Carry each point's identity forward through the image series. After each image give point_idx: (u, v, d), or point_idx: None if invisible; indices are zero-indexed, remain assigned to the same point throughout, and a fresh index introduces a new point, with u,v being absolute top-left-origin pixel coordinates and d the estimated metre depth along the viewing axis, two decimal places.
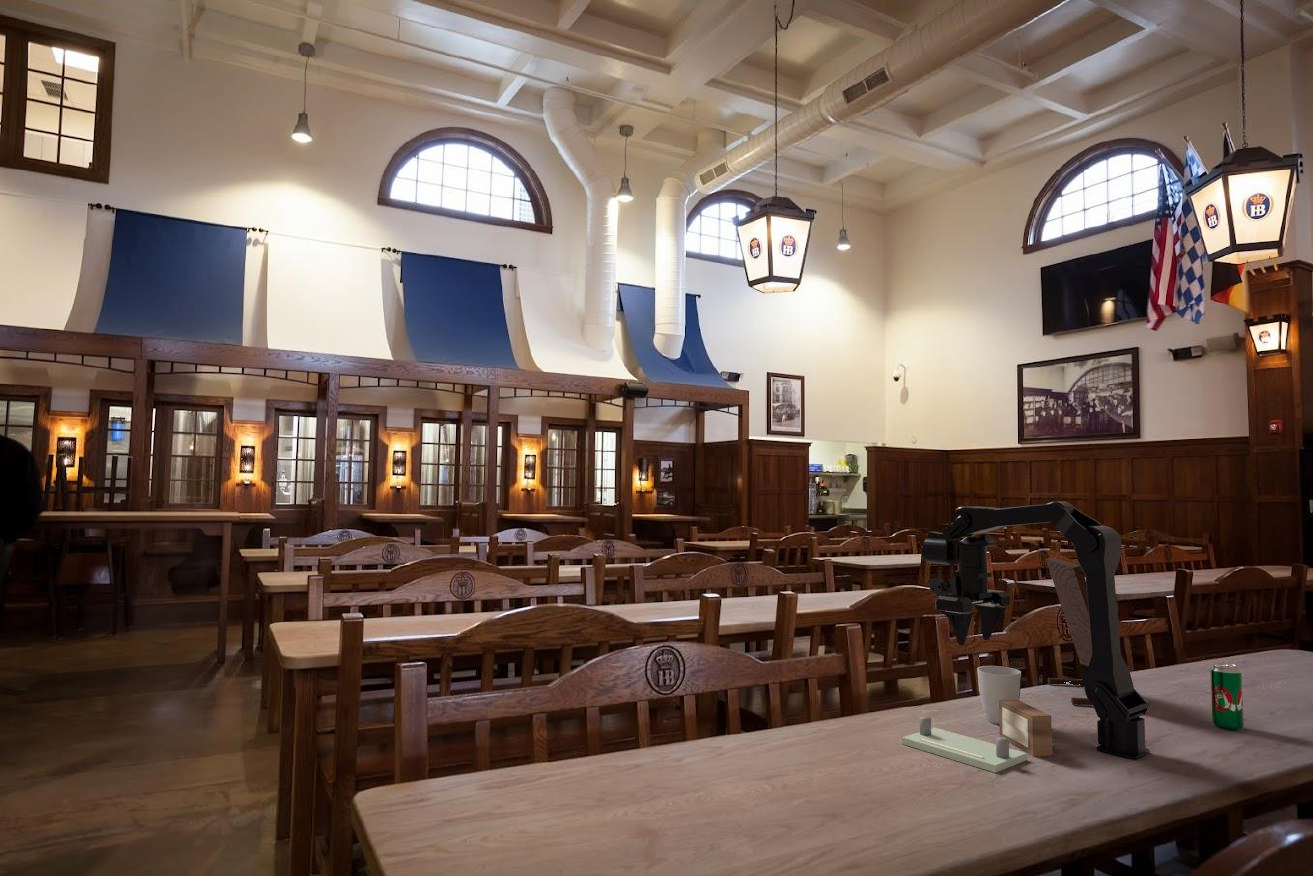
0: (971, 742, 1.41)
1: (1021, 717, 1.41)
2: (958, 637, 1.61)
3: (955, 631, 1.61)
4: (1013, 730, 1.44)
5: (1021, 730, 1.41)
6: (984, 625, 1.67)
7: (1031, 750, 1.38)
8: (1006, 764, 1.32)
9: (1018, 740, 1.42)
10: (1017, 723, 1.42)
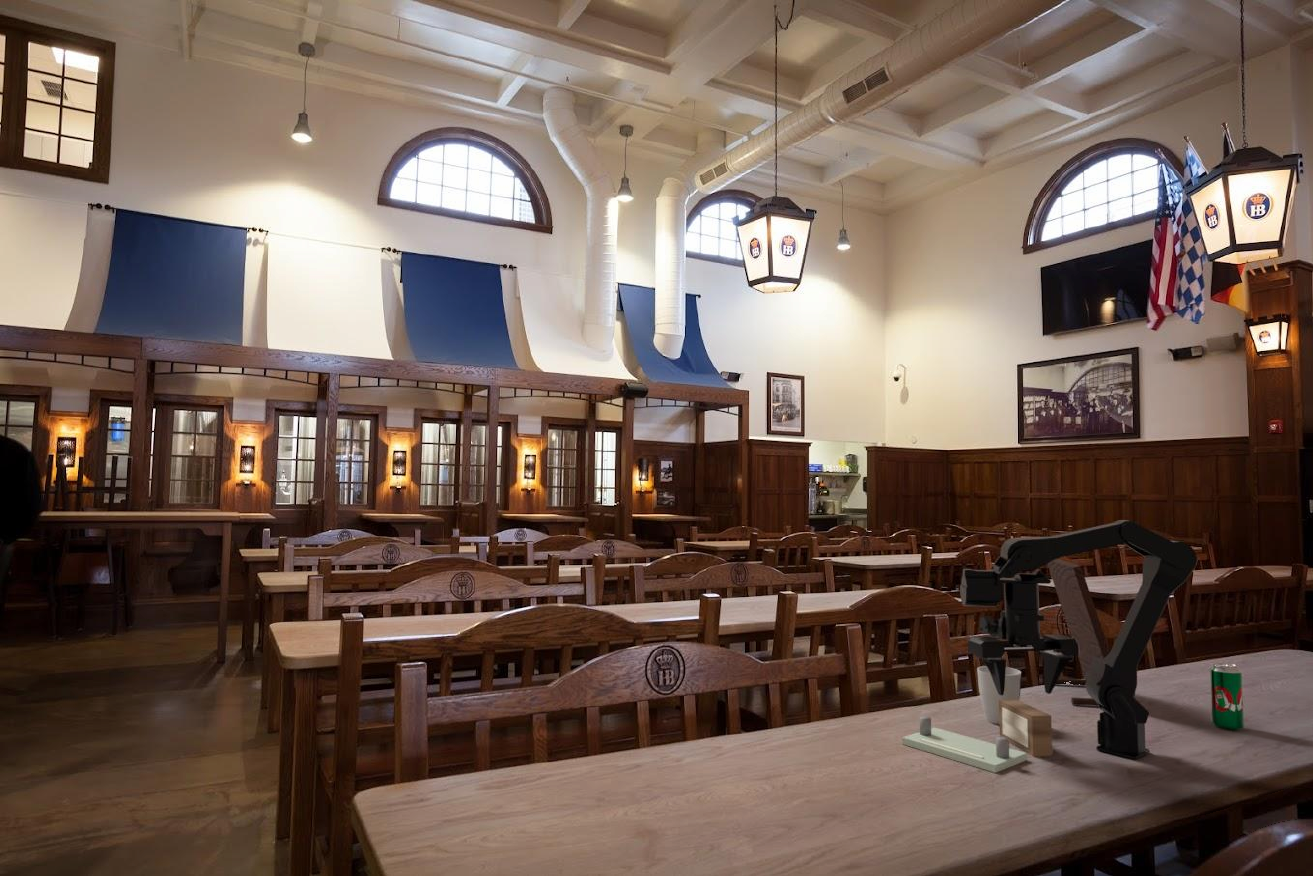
0: (971, 742, 1.41)
1: (1021, 717, 1.41)
2: (996, 685, 1.43)
3: (993, 678, 1.44)
4: (1013, 730, 1.44)
5: (1021, 730, 1.41)
6: (1046, 676, 1.45)
7: (1031, 750, 1.38)
8: (1006, 764, 1.32)
9: (1018, 740, 1.42)
10: (1017, 723, 1.42)
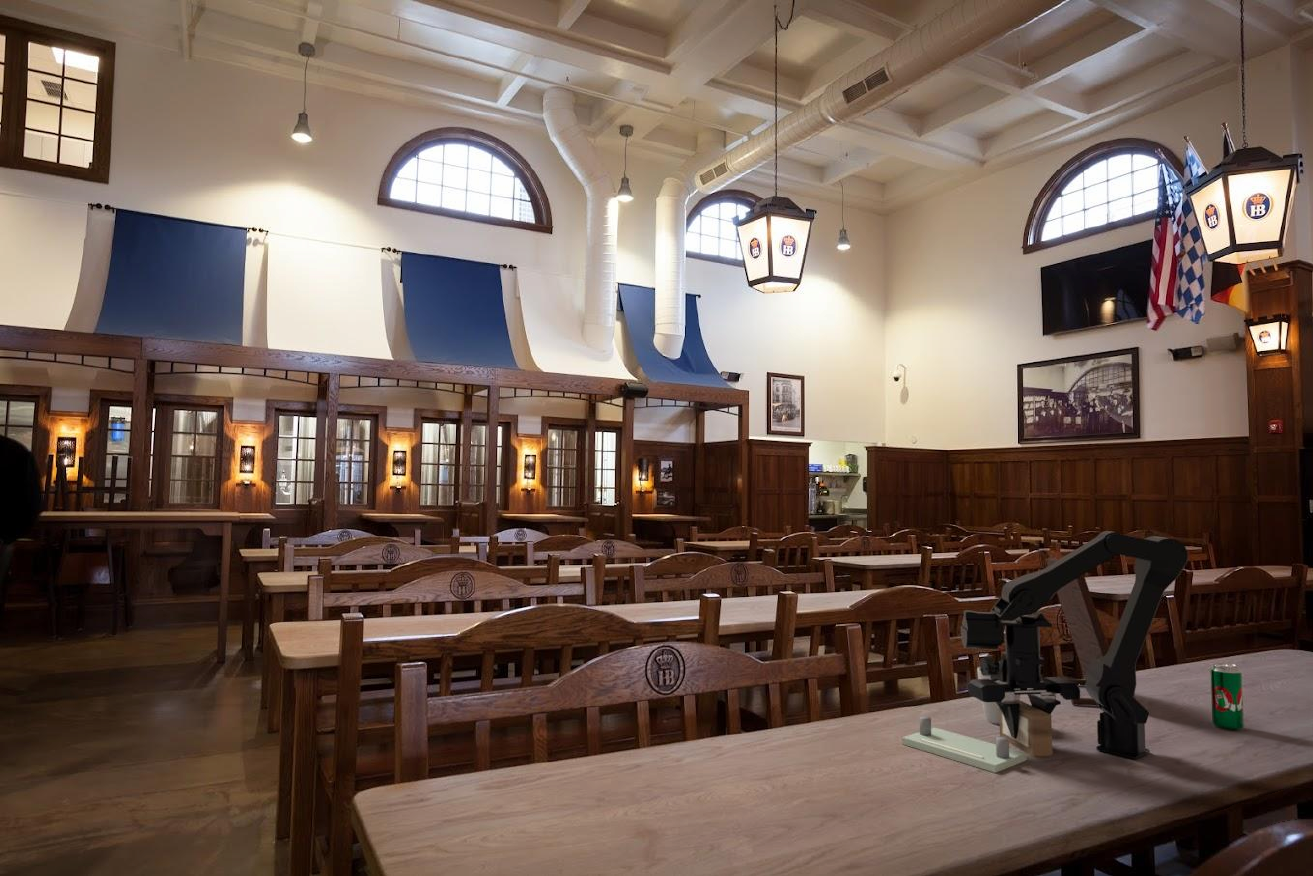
0: (971, 742, 1.41)
1: (1021, 716, 1.41)
2: (1009, 728, 1.43)
3: (1006, 721, 1.44)
4: None
5: (1021, 729, 1.41)
6: None
7: (1031, 750, 1.38)
8: (1006, 764, 1.32)
9: (1018, 740, 1.42)
10: None
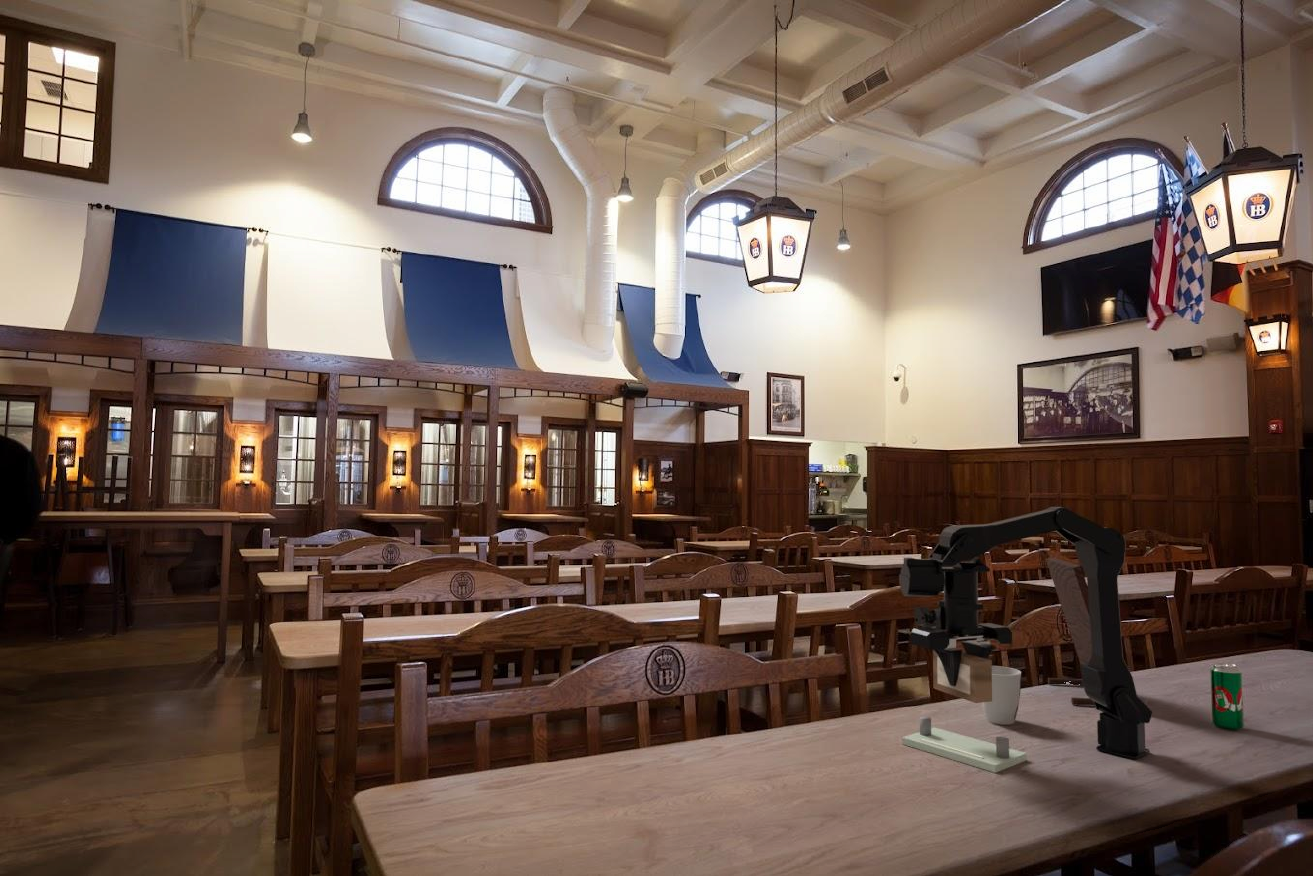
0: (971, 742, 1.41)
1: (961, 664, 1.38)
2: (948, 676, 1.40)
3: (945, 669, 1.40)
4: None
5: (961, 677, 1.38)
6: None
7: (973, 697, 1.36)
8: (1006, 764, 1.32)
9: (957, 688, 1.39)
10: None
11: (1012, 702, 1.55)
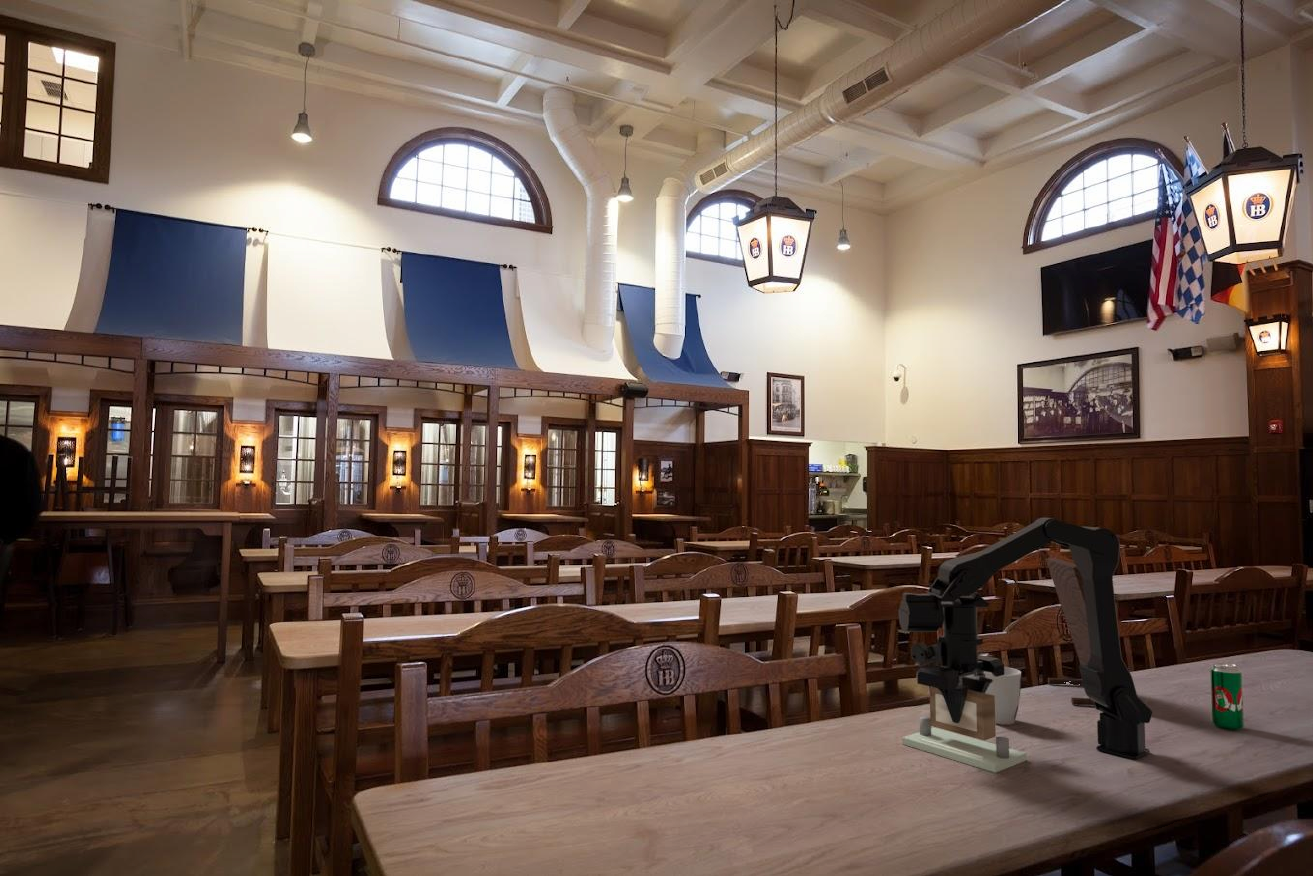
0: (971, 742, 1.41)
1: (966, 701, 1.38)
2: (952, 713, 1.39)
3: (948, 706, 1.39)
4: None
5: (966, 714, 1.38)
6: None
7: (981, 734, 1.35)
8: (1006, 764, 1.32)
9: (961, 726, 1.38)
10: None
11: (1012, 702, 1.55)
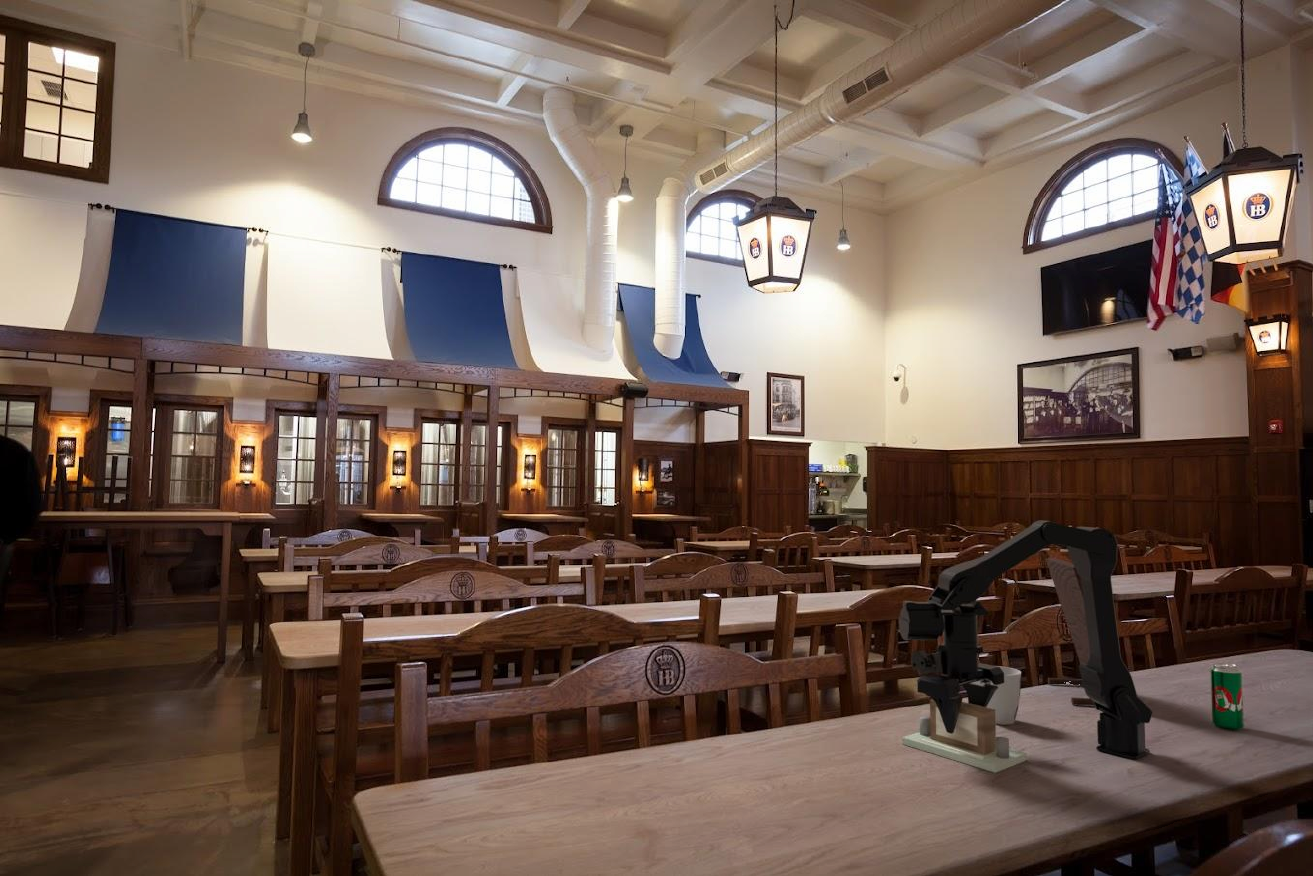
0: None
1: (967, 715, 1.38)
2: (946, 724, 1.38)
3: (943, 716, 1.38)
4: None
5: (966, 728, 1.37)
6: None
7: (982, 748, 1.35)
8: (1006, 764, 1.32)
9: (962, 740, 1.38)
10: (960, 722, 1.38)
11: (1012, 702, 1.55)
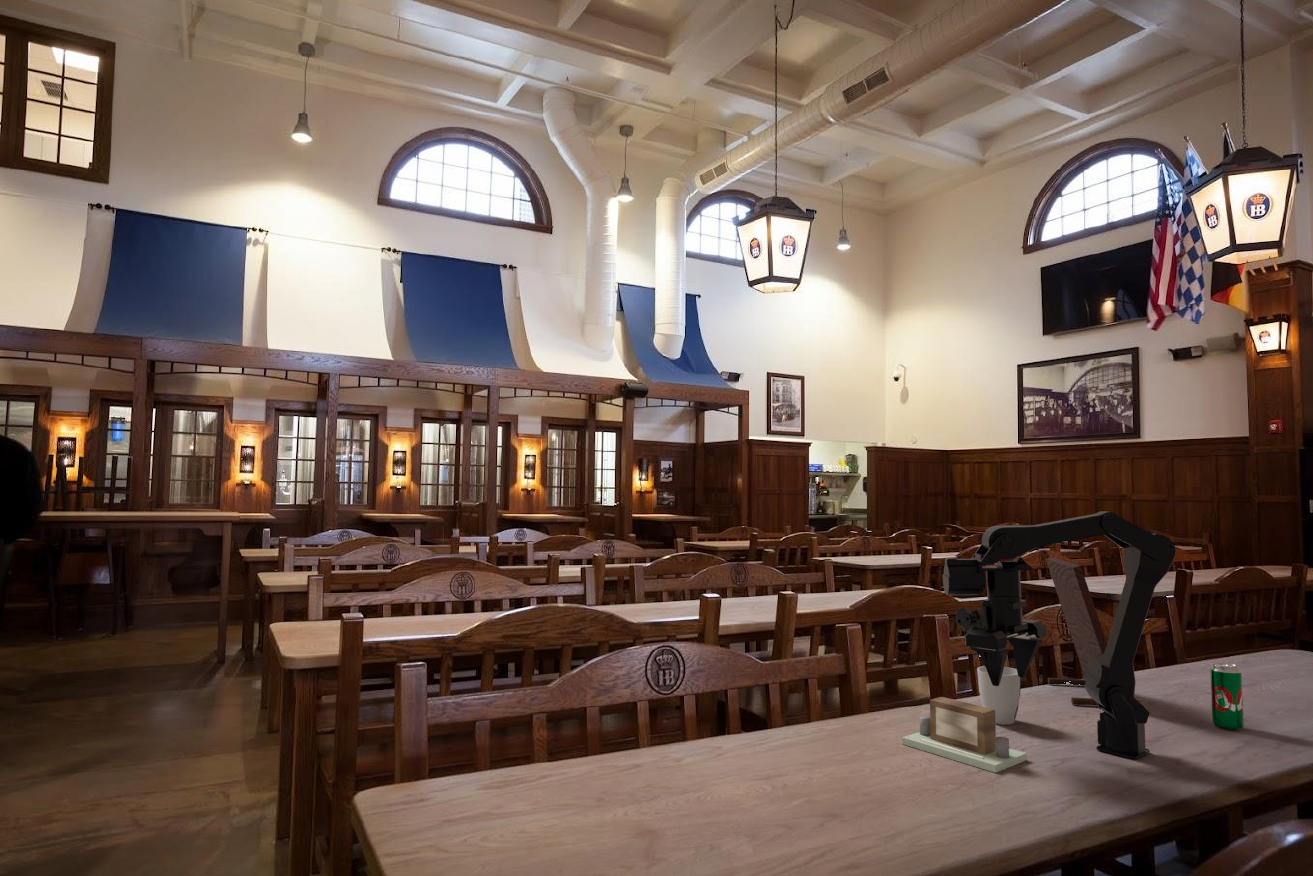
0: None
1: (967, 715, 1.38)
2: (992, 677, 1.41)
3: (988, 670, 1.41)
4: (953, 729, 1.39)
5: (966, 728, 1.37)
6: (1019, 660, 1.47)
7: (982, 748, 1.35)
8: (1006, 764, 1.32)
9: (962, 740, 1.38)
10: (960, 722, 1.38)
11: (1012, 702, 1.55)
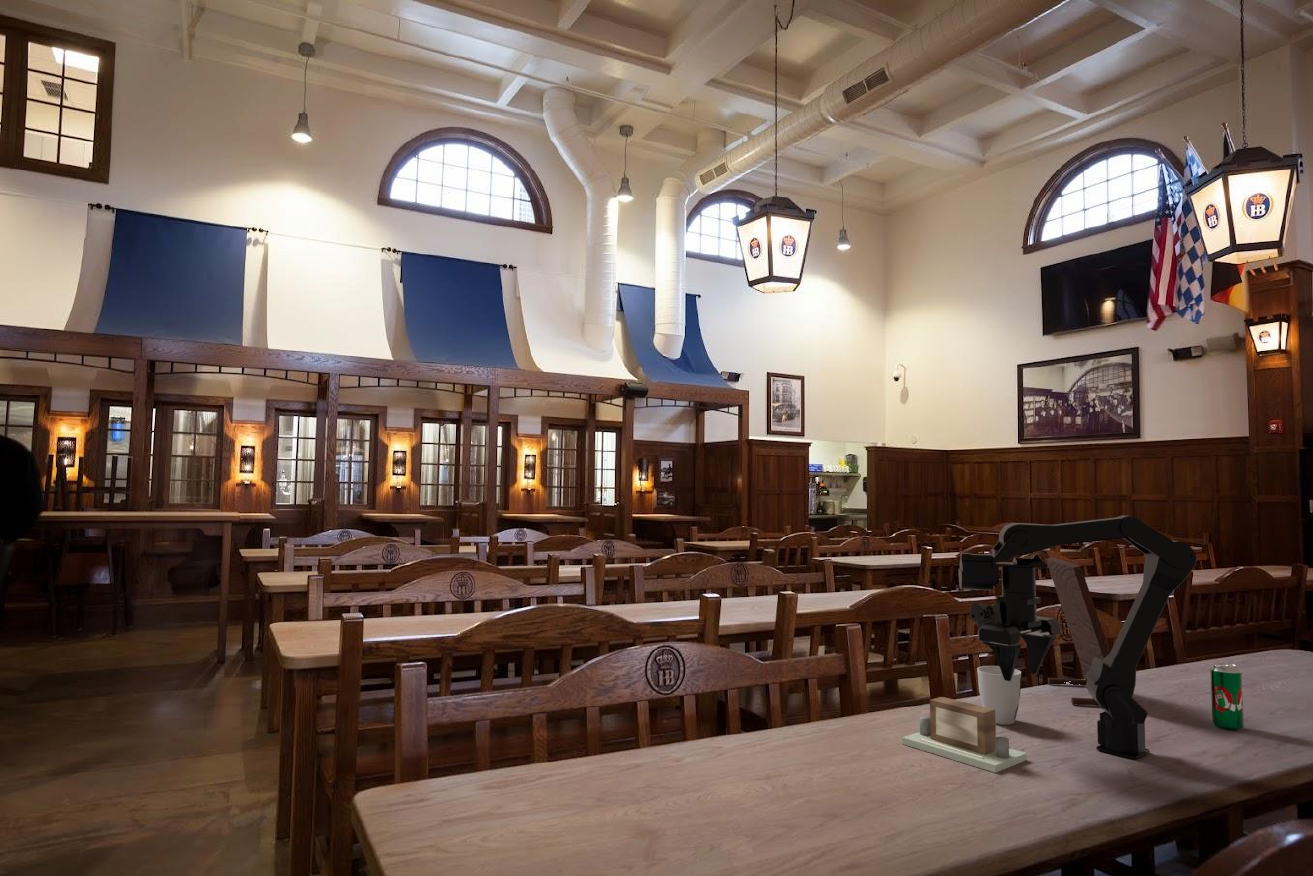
0: None
1: (967, 715, 1.38)
2: (1004, 671, 1.42)
3: (1000, 665, 1.43)
4: (953, 729, 1.39)
5: (966, 728, 1.37)
6: (1031, 657, 1.48)
7: (982, 748, 1.35)
8: (1006, 764, 1.32)
9: (962, 740, 1.38)
10: (960, 722, 1.38)
11: (1012, 702, 1.55)
